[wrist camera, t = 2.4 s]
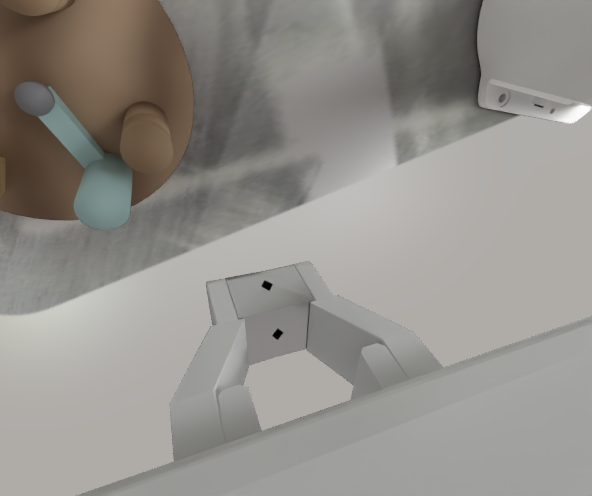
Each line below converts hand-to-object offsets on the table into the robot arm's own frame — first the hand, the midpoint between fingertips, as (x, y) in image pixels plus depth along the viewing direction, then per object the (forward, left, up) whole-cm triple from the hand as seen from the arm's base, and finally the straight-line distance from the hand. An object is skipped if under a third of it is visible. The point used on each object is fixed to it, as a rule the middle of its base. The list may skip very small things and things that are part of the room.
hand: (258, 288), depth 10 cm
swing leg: (+6, +4, -19) cm, 21 cm away
